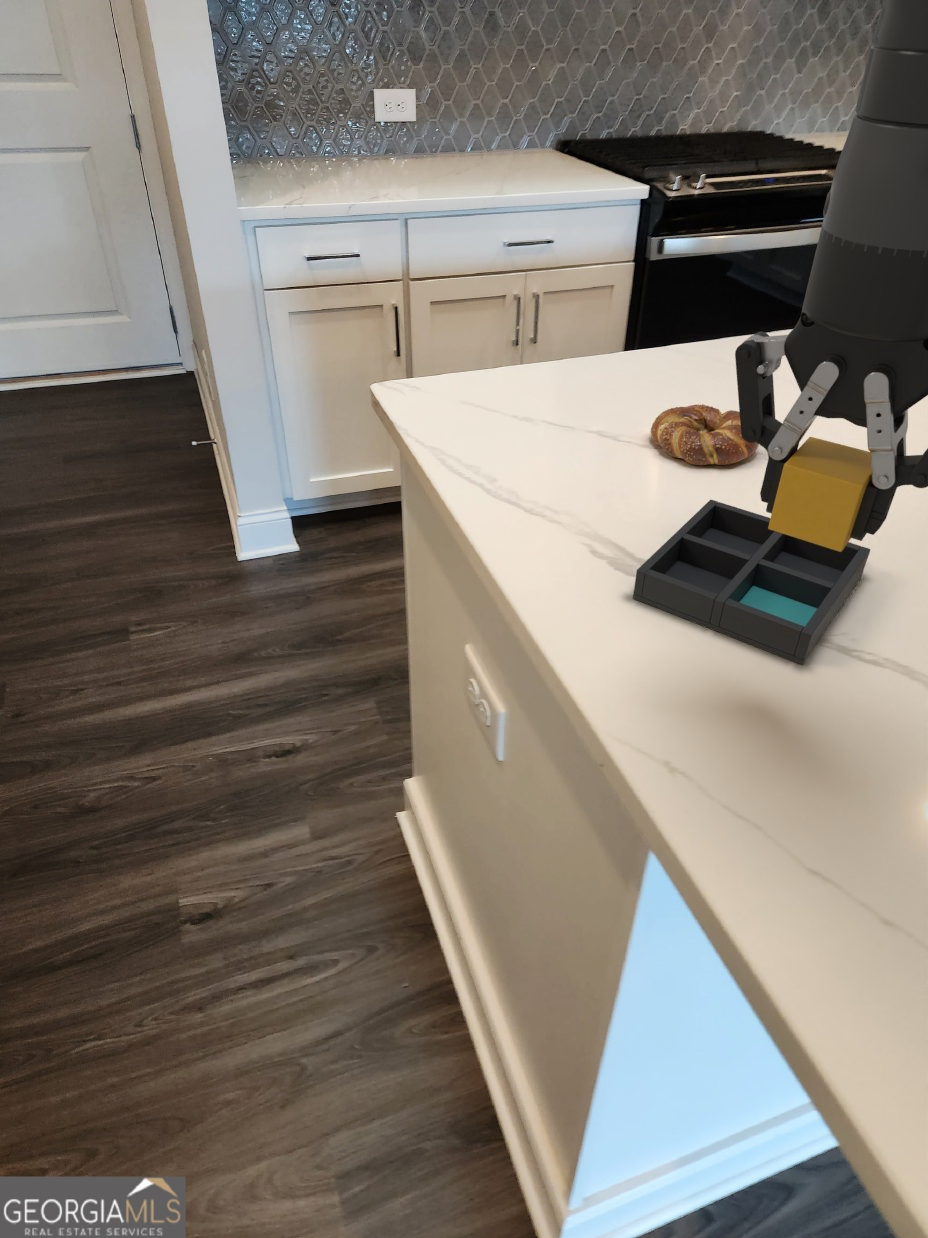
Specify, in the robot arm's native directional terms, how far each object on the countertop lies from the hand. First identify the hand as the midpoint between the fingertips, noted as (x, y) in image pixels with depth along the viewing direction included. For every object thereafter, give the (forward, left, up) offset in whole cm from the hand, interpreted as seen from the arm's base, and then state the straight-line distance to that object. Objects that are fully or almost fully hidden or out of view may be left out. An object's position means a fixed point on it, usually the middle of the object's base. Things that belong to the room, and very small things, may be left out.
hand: (816, 519), depth 51 cm
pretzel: (+22, -36, -16) cm, 45 cm away
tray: (+7, -13, -16) cm, 22 cm away
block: (0, 0, 0) cm, 0 cm away
